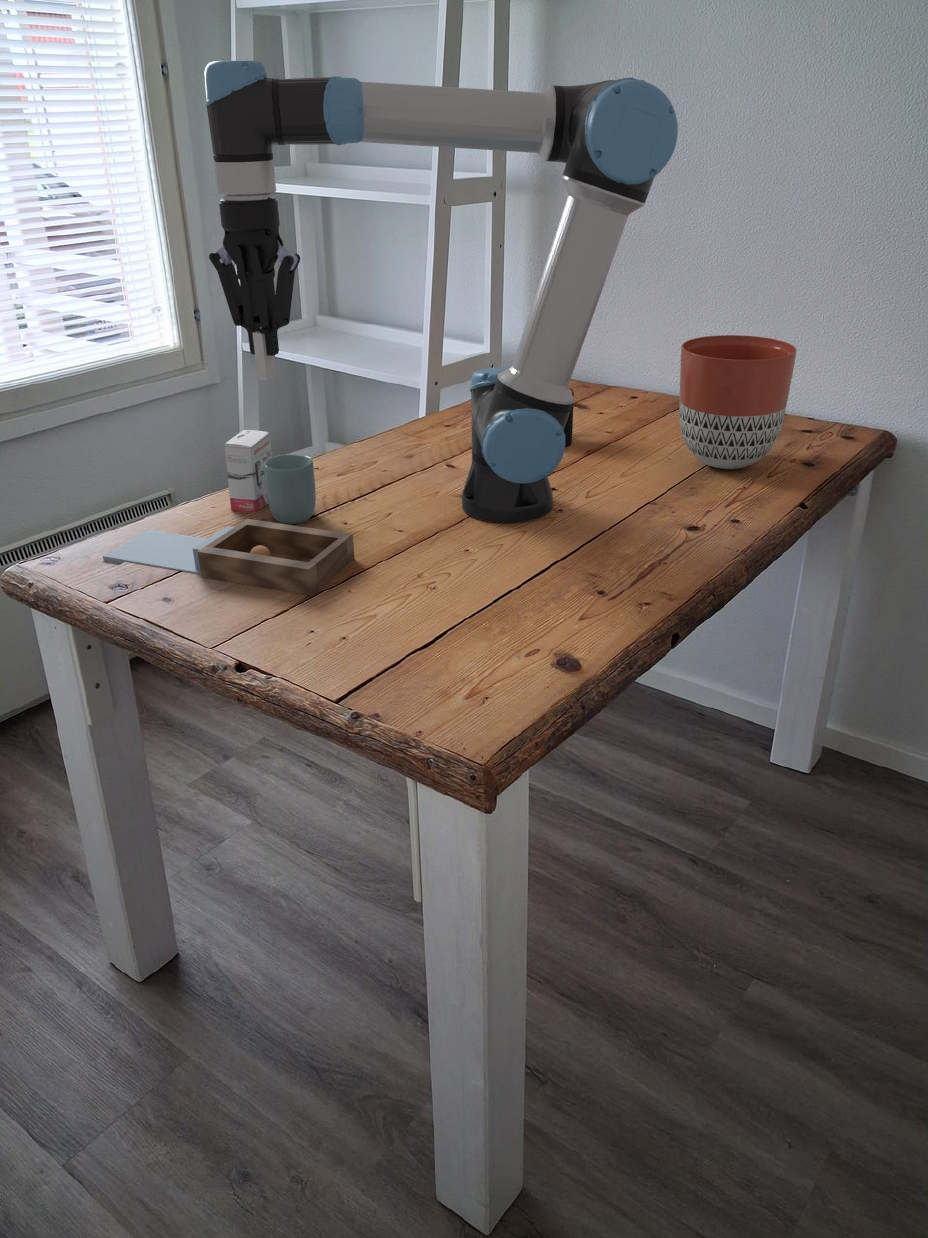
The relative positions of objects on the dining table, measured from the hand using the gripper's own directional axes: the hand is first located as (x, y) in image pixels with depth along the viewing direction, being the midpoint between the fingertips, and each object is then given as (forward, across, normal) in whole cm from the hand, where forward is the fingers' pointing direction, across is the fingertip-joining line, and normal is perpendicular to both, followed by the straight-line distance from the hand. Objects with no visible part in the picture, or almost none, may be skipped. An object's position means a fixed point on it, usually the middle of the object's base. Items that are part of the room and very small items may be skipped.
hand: (267, 377), depth 141 cm
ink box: (+27, +15, -15) cm, 34 cm away
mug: (+27, -23, -65) cm, 74 cm away
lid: (+27, +15, +7) cm, 32 cm away
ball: (+26, 0, +7) cm, 27 cm away
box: (+26, -3, +7) cm, 27 cm away
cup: (+27, +5, -11) cm, 29 cm away
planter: (+27, -57, -61) cm, 88 cm away
